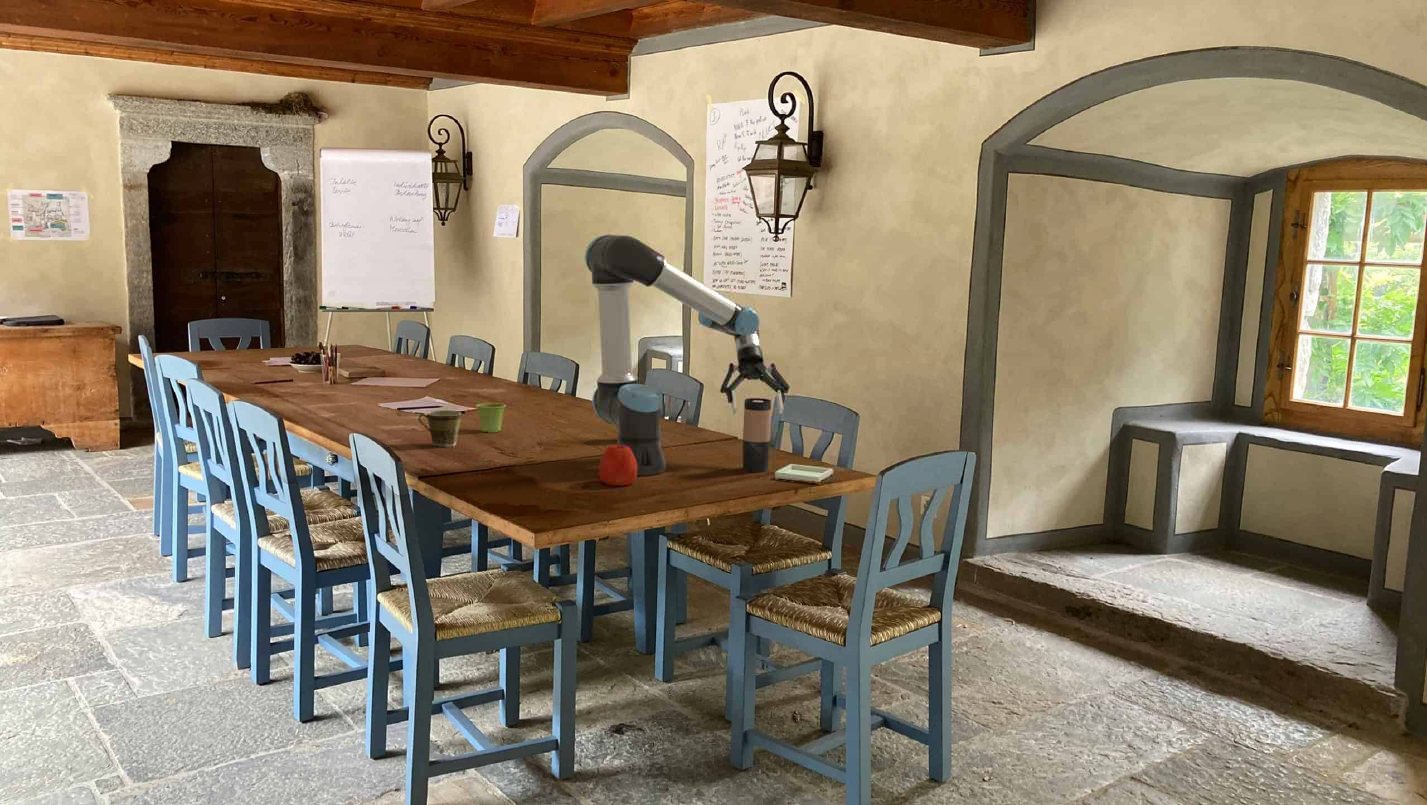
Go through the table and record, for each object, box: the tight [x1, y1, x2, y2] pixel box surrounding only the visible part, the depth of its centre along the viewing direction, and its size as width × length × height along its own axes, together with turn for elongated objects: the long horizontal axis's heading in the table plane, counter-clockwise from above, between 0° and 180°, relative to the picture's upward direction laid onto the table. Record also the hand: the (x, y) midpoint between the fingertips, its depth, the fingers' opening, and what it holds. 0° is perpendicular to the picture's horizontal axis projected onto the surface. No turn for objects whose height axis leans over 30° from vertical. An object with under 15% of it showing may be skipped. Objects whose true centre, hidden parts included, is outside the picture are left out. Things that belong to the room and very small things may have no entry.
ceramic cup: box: [418, 410, 462, 448], centre depth 335 cm, size 13×10×10 cm
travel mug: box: [742, 397, 772, 473], centre depth 312 cm, size 8×8×20 cm
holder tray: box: [774, 463, 834, 482], centre depth 305 cm, size 12×12×2 cm
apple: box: [598, 444, 638, 487], centre depth 291 cm, size 10×10×10 cm
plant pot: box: [476, 402, 507, 433], centre depth 360 cm, size 9×9×9 cm
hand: (758, 411), depth 317 cm, fingers open, 13 cm apart
